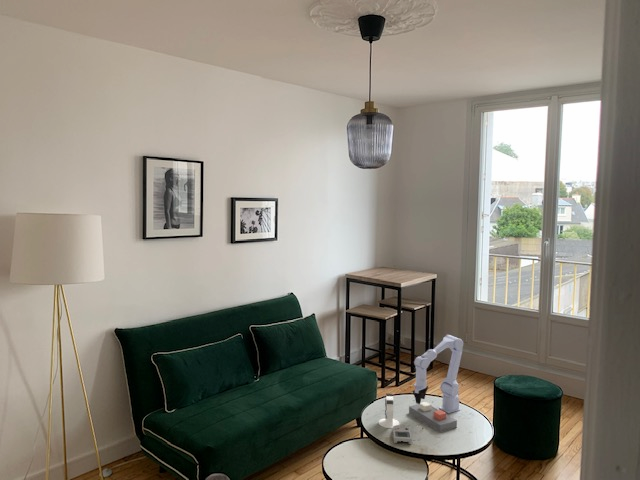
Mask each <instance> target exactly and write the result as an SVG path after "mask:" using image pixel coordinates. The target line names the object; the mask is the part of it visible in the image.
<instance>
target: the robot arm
mask: <svg viewBox="0 0 640 480" xmlns="http://www.w3.org/2000/svg"><path fill="white" fill-rule="evenodd" d="M463 347H464V341H463V340H462V338H458V337H456V336H453V335H451V334H446V335H445V336H444V337H442V341H440V342H439V343H438V344H437V345H436V346H435V347H434V348H433V349H432V348H430V349H427V350H426V351H425V352H424V353H423V354H421V356H417V357H416V358H415V359H414V361H413V364H414V366H415V383H414V384H413V387H415V389H414V390H413V391H412V394H413V396H414V399H415V403H416V405H417V404H420V403H422V402H421V401H422V400H425V399H426V395H427V391H428V389H429V386H428V385H427V369H428V368H429V365H430V364H431V362H433V361H434V360H435V359H436V358H437V357H438V354H440V353H441V352H442V351H444V350H446V349H449V350H450V351H451V356H450V361H449V365H448V368H447V369H448V371H447V374H446V377H445V378H443V379H442V382H441V383H440V387H439V390H440V391H441V394H442V403H441V404H442V406H439V407H438V408H439V410H442V411H443V412H445V413H446V414H451V413H454V412H455V413H456V412H458V411H461V409H460V396H459V392H460V391H459V383H458V382H457V377H458V373H459V368H460V363H461V359H462V354H463Z"/></svg>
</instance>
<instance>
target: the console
mask: <svg viewBox="0 0 640 480" xmlns="http://www.w3.org/2000/svg"><path fill="white" fill-rule="evenodd" d="M437 410H439V409H437V408H435V407H434V406H432V405H431V410H430V411H426V412H424V411H423V410H421V409H419V404H417V403H416V404H414V405H409V407H408V414H410V415H411V416H412V417H414V418H417V419H418V420H419V421H421V422H423V423H425V424H426V425H427V426H429V427H431V428H432V429H434V430H435V431H437V432H438V433H442V432H445V431H449V430H453V429H455V428H457V425H458V424H457V423H458V420H457V419H455V418H453V417H452V416H450V415H448V414H446V419H443V420H438V419H436V418H434V417H433V415H434V411H437Z"/></svg>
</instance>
